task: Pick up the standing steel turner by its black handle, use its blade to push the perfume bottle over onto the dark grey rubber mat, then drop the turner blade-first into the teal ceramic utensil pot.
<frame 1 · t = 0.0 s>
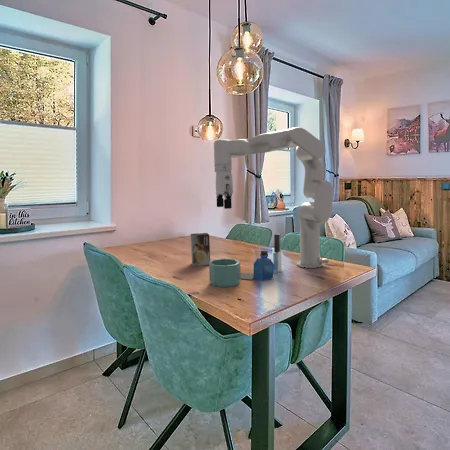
hand: (223, 207, 155), 31 cm above the table, tool pointing down, fingers open, 9 cm apart
utensil pot: (225, 282, 149), on the table
perfume bottle: (263, 278, 154), on the table, touching rubber mat
coffee box: (201, 264, 182), on the table
rubber mat: (241, 276, 158), on the table
steel turner: (277, 271, 164), on the table
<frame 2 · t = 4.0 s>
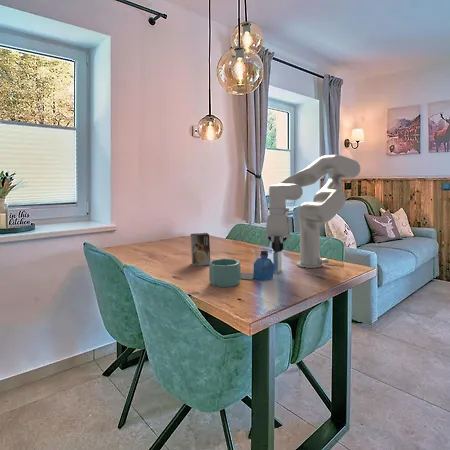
hand: (277, 250, 163), 10 cm above the table, tool pointing down, fingers closed on steel turner, 2 cm apart
steel turner: (277, 271, 164), on the table, touching gripper
everything else where it was.
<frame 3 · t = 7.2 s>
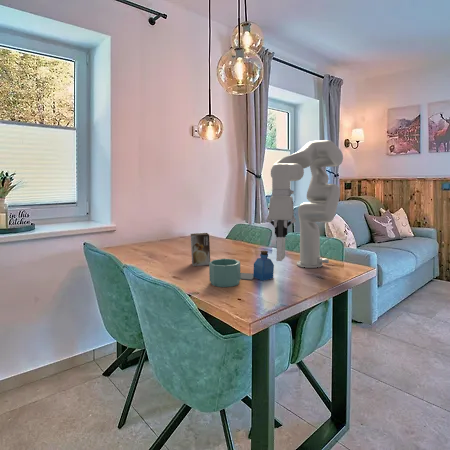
hand: (281, 236, 149), 19 cm above the table, tool pointing down, fingers closed on steel turner, 2 cm apart
steel turner: (280, 258, 150), point 9 cm above the table, touching gripper
everything else where it was.
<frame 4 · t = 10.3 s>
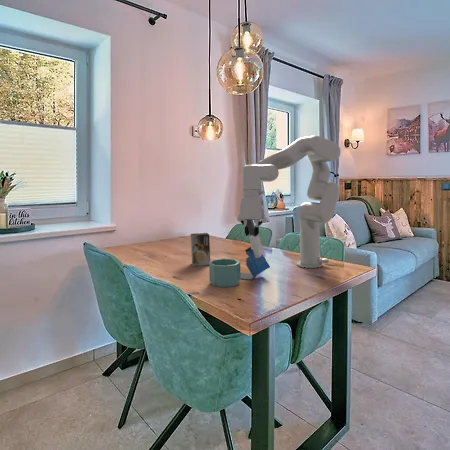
hand: (251, 235, 153), 19 cm above the table, tool pointing down, fingers closed on steel turner, 3 cm apart
perfume bottle: (262, 272, 154), point 3 cm above the table, touching rubber mat, steel turner
steel turner: (260, 254, 154), point 10 cm above the table, tilted 17°, touching gripper, perfume bottle
everything else where it was.
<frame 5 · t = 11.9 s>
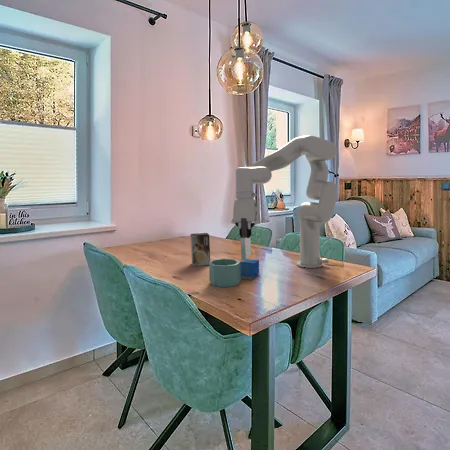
hand: (245, 237, 154), 18 cm above the table, tool pointing down, fingers closed on steel turner, 2 cm apart
perfume bottle: (257, 268, 157), point 3 cm above the table, touching rubber mat
steel turner: (246, 256, 157), point 9 cm above the table, tilted 6°, touching gripper
everything else where it was.
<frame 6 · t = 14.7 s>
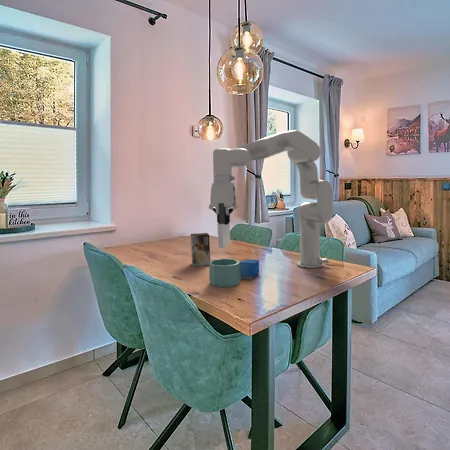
hand: (223, 223, 145), 25 cm above the table, tool pointing down, fingers closed on steel turner
steel turner: (224, 244, 147), point 16 cm above the table, tilted 6°, touching gripper
everything else where it was.
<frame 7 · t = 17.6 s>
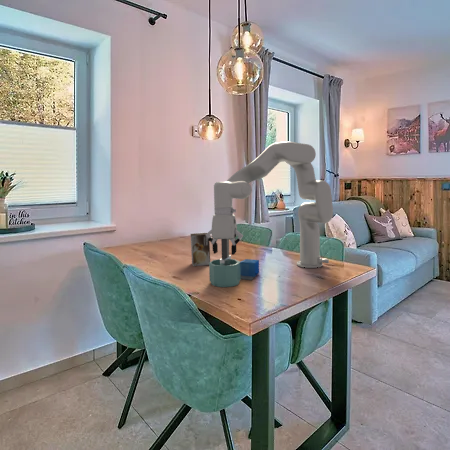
hand: (224, 253, 147), 13 cm above the table, tool pointing down, fingers open, 7 cm apart
steel turner: (225, 280, 149), point 1 cm above the table, touching utensil pot
everything else where it was.
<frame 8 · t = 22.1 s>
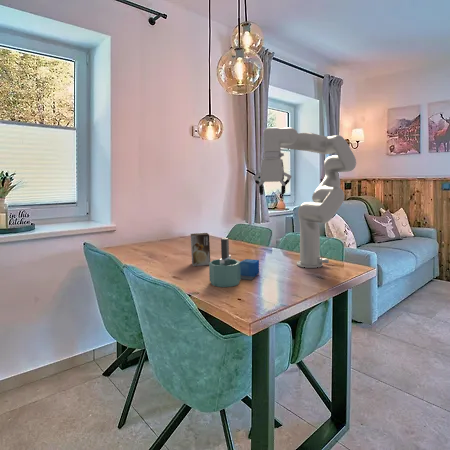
hand: (272, 194, 158), 36 cm above the table, tool pointing down, fingers open, 9 cm apart
nothing on the table moved.
at the end: perfume bottle tilted 90°; perfume bottle inside the target area on the rubber mat (5.9 cm from its centre), point 3.5 cm above the rubber mat's base; steel turner inside the target area on the utensil pot (0.7 cm from its centre), point 1.0 cm above the utensil pot's base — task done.
